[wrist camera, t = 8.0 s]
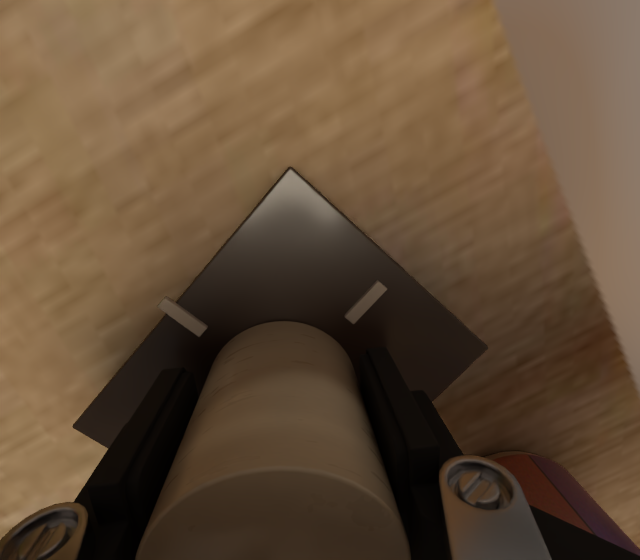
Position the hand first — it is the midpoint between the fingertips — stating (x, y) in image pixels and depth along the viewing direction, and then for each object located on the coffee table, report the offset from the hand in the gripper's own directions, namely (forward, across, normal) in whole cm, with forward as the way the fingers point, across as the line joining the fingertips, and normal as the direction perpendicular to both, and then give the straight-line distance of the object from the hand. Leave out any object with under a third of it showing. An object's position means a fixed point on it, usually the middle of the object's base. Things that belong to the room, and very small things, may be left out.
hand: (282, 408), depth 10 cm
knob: (+1, 0, 0) cm, 1 cm away
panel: (+4, 0, 0) cm, 4 cm away
